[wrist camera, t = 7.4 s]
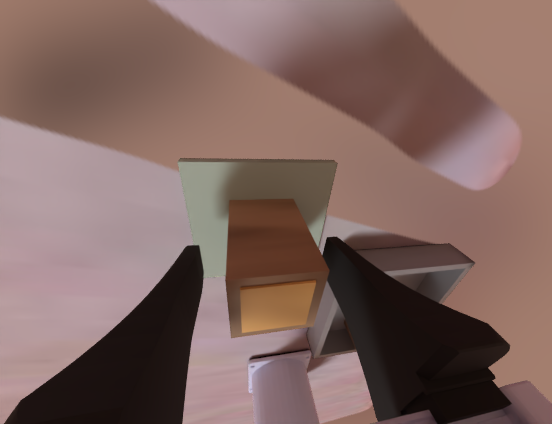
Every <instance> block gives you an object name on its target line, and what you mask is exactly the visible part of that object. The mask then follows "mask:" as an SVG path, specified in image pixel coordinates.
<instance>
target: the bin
mask: <svg viewBox="0 0 552 424" xmlns="http://www.w3.org/2000/svg"><path fill="white" fill-rule="evenodd" d="M354 251H356V252H357V253H358V254H360V255H361V256H362V257H364V258H365V259H366V260H367V261H369V262H370V263H372V264H373V265H374V266H376V267H377V268H379V269H380V270H382V271H383V272H384V273H386V274H387V275H389V276H391V277H392V278H394V279H395V280H397V281H399V282H400V283H402V284H404V285H405V286H407V287H409V288H411V289H412V290H414V291H416V292H418V293H420V294H422V295H424V296H426V297H428V298H430V299H432V300H434V301H436V302H438V303H440V304H442V303H443V302H444V301H445V300H446V298H447V297H448V296H449V295H450V294H451V292H452V291H453V290H454V289H455V287H456V286H457V285H458V284H459V282H460V281H461V280H462V279H463V277H464V276H465V275H466V274H467V273H468V271H469V270H470V269H471V268H472V266H473V265H474V264H475V262H474V261H472V260H471V259H470V258H468V257H467V256H466V255H464V254H463V253H462V252H460V251H459V250H458V249H456V248H455V247H454V246H452V245H451V244H449V243H448V244H434V245H421V246H407V247H394V248H381V249H367V250H354ZM344 320H345V317H344V315H343V313H342V311H341V309H340V307H339V305H338V303H337V300H336V298H335V296H334V294H333V292H332V290H331V288H330V286H329V284H328V282H327V281H326V285H325V288H324V292H323V295H322V298H321V302H320V305H319V309H318V312H317V316H316V319H315V322H314V326H313V327H309V328H308V332H307V339H308V342H309V346H310V349H311V353H312V356H313V359H316V358H322V357H328V356H334V355H340V354H346V353H352V352H357V351H356V349H355V347H354V344H353V342H352V340H351V338H350V336H349V333H348V331H347V329H346V327H345V325H344Z"/></svg>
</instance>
